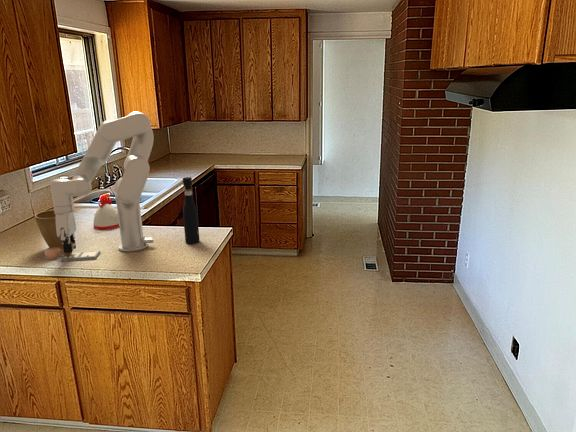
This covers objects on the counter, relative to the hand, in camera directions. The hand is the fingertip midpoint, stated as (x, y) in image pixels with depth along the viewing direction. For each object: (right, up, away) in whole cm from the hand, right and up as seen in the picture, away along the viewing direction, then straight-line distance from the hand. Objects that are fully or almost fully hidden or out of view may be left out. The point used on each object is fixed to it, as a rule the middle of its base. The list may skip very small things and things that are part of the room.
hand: (70, 250), depth 192 cm
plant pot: (-12, 0, +14) cm, 18 cm away
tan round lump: (-8, -3, +2) cm, 9 cm away
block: (-2, -1, 0) cm, 2 cm away
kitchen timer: (-2, +9, +45) cm, 46 cm away
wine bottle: (+48, +2, +17) cm, 51 cm away
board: (+4, -3, +1) cm, 5 cm away
